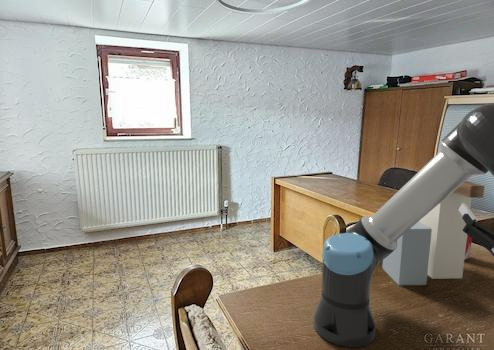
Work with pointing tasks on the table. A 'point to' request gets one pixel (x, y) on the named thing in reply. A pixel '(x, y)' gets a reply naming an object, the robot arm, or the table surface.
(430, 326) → the table surface
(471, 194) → the brown wooden beam
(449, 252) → the tall cream rectangular block
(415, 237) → the tall pale gray pillar
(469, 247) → the soda can
